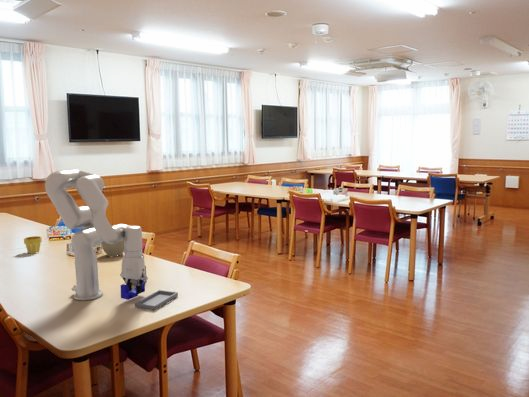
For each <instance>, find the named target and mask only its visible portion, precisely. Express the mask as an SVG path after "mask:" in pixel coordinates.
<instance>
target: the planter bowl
mask: <svg viewBox="0 0 529 397" xmlns="http://www.w3.org/2000/svg"><path fill="white" fill-rule="evenodd" d="M100 246H101V248H102V250H103V251H104V254H106V256H107V257H109V256H115V257H118V256H117V255H120V256H122V255H124V252H123V250H125V240H122V241H119V242H117V243H114V244H107V243H105V242H103V243H102V244H100ZM121 254H122V255H121Z"/></svg>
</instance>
